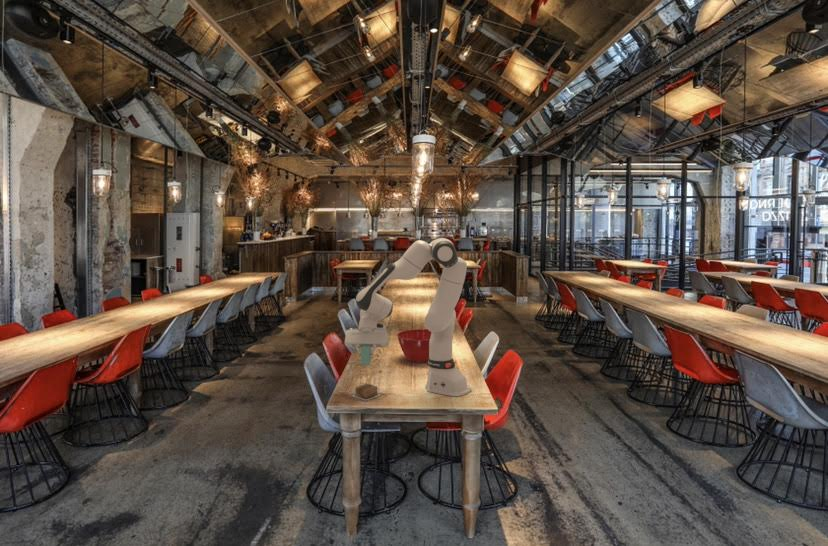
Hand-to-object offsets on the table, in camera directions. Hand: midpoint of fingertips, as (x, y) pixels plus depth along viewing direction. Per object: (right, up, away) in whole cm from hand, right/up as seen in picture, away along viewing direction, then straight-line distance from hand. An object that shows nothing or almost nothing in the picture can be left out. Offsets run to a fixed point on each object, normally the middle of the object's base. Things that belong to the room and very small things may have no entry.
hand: (365, 354), depth 226 cm
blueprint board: (0, -19, +2) cm, 19 cm away
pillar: (0, -5, +1) cm, 5 cm away
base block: (0, -19, +2) cm, 19 cm away
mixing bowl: (+26, -14, +62) cm, 69 cm away
